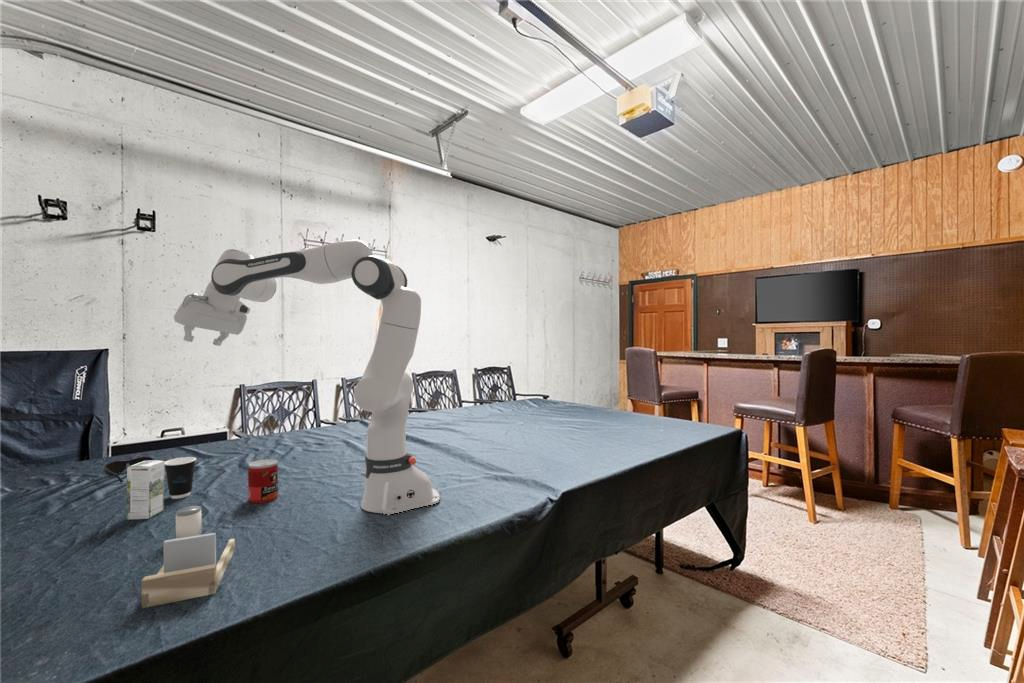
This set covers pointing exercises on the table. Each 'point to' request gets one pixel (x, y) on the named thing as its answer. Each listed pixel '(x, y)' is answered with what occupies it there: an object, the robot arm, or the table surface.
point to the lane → (185, 581)
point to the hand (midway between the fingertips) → (202, 343)
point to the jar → (188, 522)
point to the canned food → (262, 480)
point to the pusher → (189, 552)
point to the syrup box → (145, 489)
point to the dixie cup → (180, 476)
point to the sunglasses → (122, 466)
